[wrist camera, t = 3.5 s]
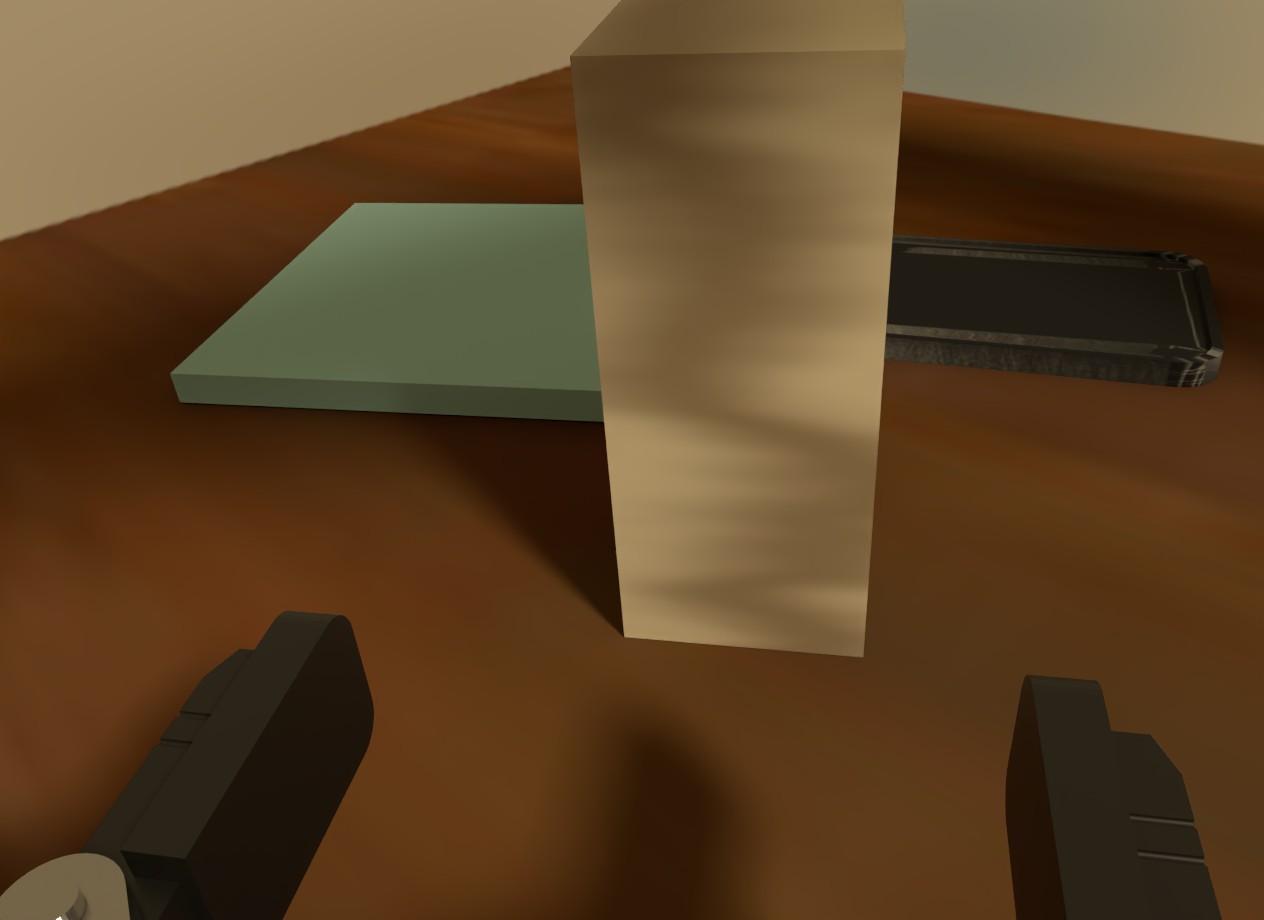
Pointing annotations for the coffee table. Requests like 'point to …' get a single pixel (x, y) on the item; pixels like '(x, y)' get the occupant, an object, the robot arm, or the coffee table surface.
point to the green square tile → (418, 318)
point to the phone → (1053, 310)
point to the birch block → (742, 306)
